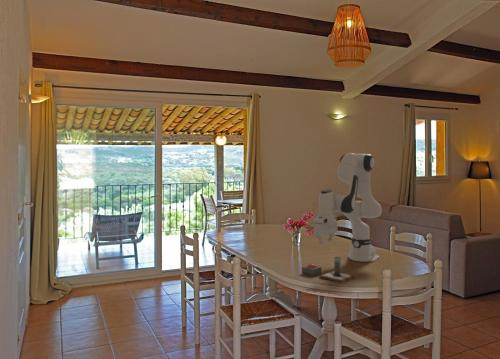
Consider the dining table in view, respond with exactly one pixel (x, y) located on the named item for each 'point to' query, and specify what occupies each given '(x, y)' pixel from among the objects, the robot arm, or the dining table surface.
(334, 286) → the dining table surface
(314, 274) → the button housing
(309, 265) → the button
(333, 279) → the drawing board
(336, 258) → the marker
